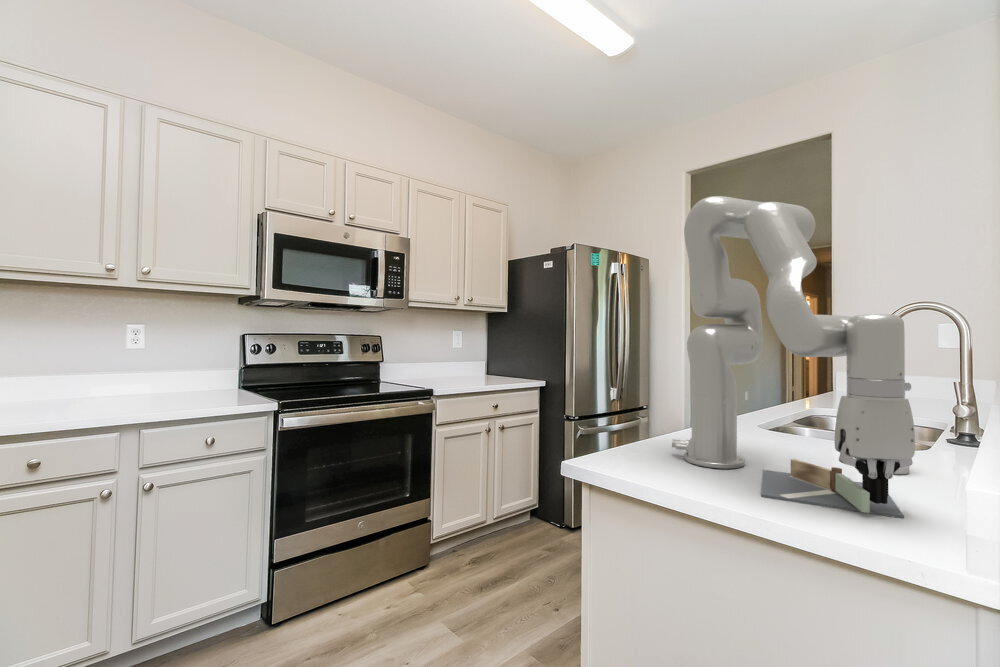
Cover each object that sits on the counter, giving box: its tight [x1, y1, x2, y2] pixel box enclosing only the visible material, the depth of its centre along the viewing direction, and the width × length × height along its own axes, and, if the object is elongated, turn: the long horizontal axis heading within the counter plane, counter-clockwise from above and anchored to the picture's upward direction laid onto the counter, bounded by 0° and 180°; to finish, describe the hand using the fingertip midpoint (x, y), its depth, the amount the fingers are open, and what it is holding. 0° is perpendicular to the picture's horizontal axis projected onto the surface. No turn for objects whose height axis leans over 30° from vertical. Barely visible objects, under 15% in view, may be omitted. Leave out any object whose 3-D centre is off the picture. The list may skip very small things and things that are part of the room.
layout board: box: [760, 469, 905, 519], centre depth 88 cm, size 20×18×1 cm
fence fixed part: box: [790, 458, 843, 493], centre depth 92 cm, size 10×2×5 cm, turn 15°
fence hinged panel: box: [836, 473, 871, 514], centre depth 81 cm, size 11×1×3 cm, turn 163°
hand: (875, 500), depth 78 cm, fingers closed
